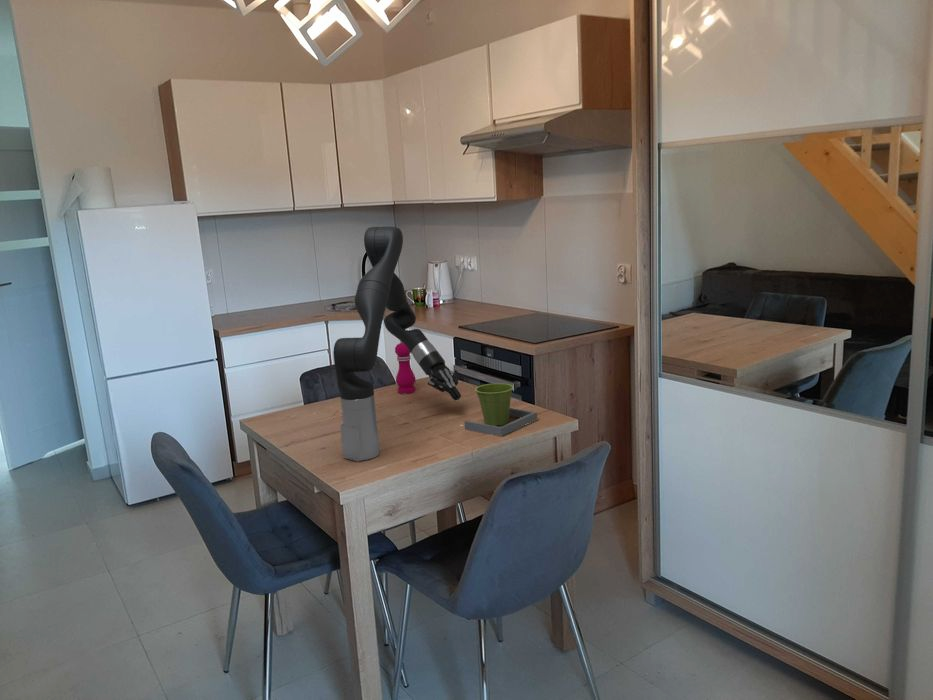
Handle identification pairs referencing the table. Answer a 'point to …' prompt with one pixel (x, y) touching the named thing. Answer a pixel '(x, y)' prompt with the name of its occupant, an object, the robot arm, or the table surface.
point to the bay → (500, 431)
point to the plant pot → (495, 402)
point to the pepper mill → (404, 370)
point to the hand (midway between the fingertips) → (458, 398)
